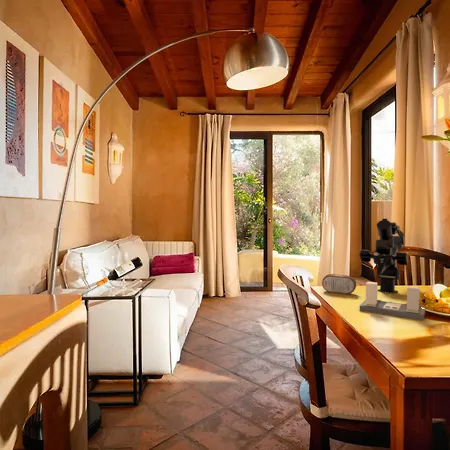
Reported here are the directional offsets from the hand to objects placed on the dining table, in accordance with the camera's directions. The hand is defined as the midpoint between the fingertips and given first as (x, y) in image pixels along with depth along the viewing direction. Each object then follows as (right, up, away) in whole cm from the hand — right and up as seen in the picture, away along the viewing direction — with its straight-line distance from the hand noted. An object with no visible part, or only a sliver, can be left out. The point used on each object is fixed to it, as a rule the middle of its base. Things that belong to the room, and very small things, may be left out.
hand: (380, 273), depth 147 cm
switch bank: (-2, -12, -16) cm, 20 cm away
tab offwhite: (-10, -10, -14) cm, 19 cm away
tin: (-13, -11, +14) cm, 22 cm away
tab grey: (+2, -10, -22) cm, 24 cm away
